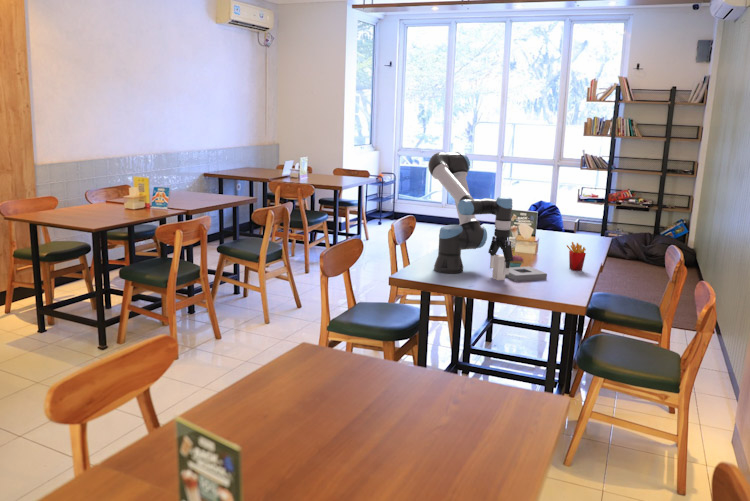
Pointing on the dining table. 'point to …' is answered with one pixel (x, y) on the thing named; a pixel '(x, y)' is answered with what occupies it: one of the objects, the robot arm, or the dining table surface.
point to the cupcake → (516, 260)
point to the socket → (525, 274)
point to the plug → (498, 267)
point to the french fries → (576, 257)
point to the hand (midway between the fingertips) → (499, 271)
